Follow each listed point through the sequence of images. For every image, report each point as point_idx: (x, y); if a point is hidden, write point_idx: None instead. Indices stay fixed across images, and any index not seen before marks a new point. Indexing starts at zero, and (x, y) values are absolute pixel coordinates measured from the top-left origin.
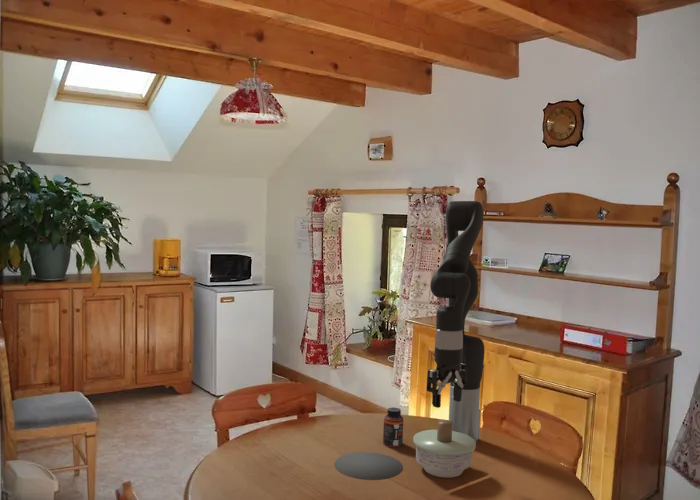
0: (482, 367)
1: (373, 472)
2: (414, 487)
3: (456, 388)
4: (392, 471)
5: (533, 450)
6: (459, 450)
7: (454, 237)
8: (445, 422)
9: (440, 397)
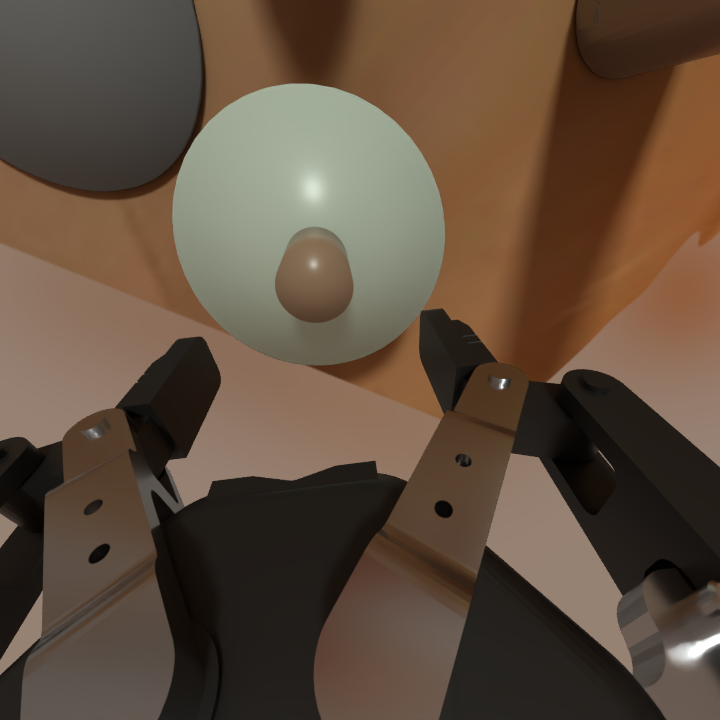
0: None
1: (39, 106)
2: (174, 273)
3: (450, 395)
4: (130, 145)
5: (659, 251)
6: (301, 357)
7: None
8: (314, 291)
9: (192, 436)
